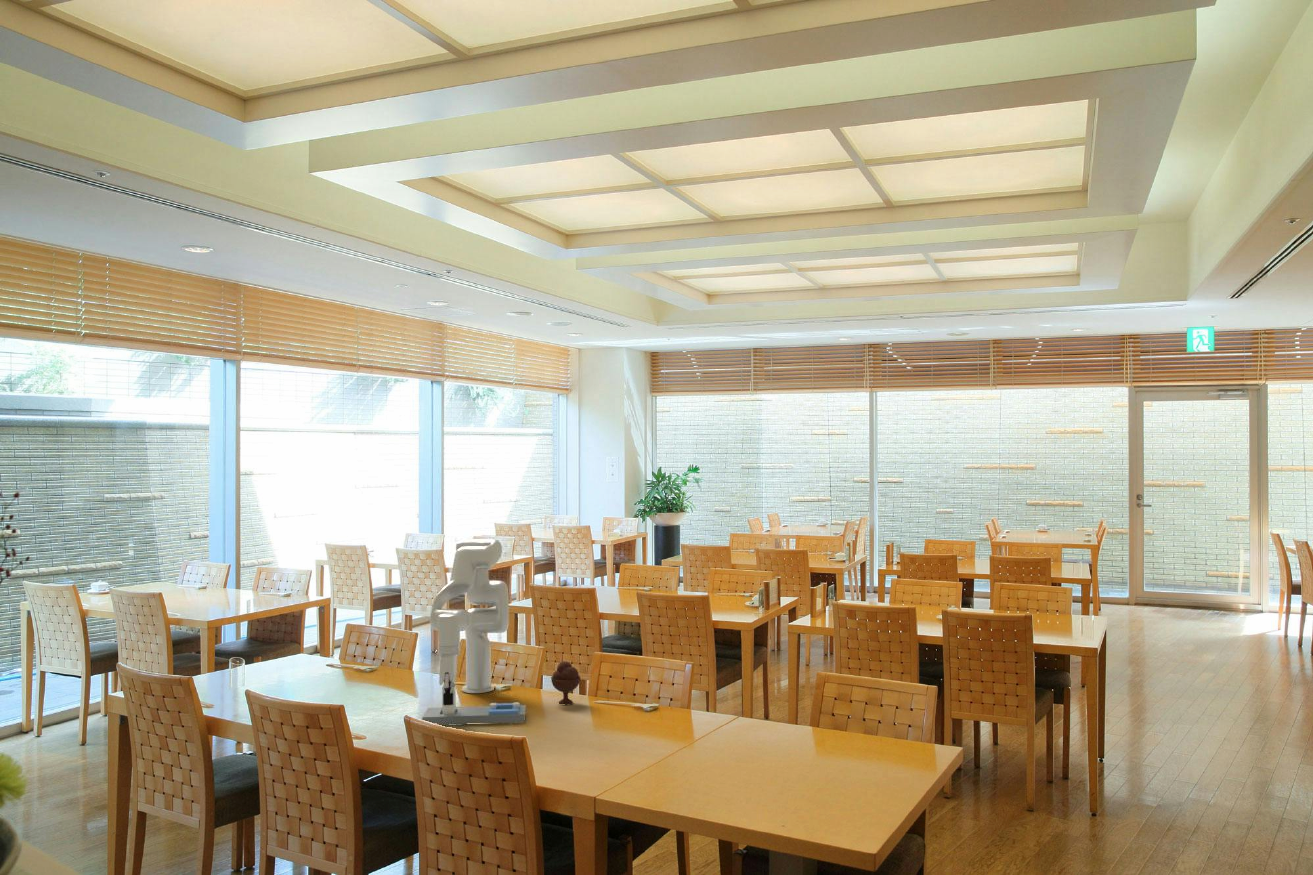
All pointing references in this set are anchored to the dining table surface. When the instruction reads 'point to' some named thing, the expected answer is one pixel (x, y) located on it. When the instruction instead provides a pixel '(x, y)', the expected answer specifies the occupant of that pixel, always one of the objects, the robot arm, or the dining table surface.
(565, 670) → the ice cream bowl
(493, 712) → the board
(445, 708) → the cord plug
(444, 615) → the robot arm
